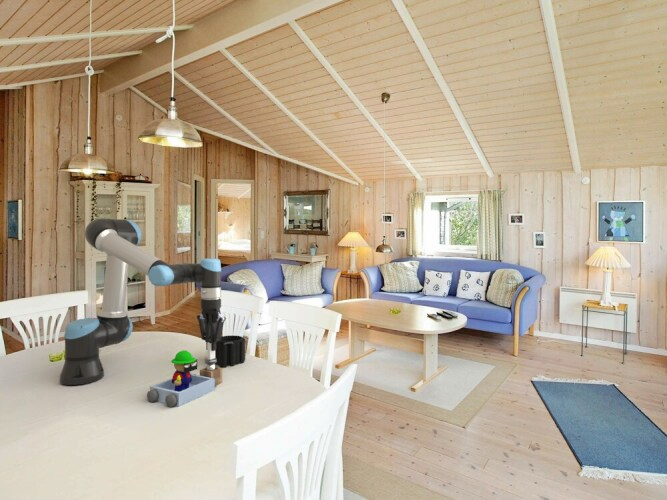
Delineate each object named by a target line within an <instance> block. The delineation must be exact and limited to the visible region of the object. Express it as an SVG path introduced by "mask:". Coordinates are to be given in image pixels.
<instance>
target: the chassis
mask: <svg viewBox="0 0 667 500" xmlns="http://www.w3.org/2000/svg"><path fill="white" fill-rule="evenodd" d="M190 374H191V377H192V382H190V383H189V388H187V389H185V390H182V391H180V392H177V391H174V390H175V384H173V383H172V378H170V379H167V380H165V381H161V382H159V383H156V384H153V385H151V386H149V390H148V391H147V394H146V398H147V400H148V401H149V402H150V403H154V402H160V403H163V404H166V406H167V407H168V408H172V407H178V408H179V407H181V406H184V405H185V404H188V403H190V402H192V401H195V400H197V399H199V398H202V397H204V396H206V395H208V394H210V393H212V392H214V391H215V389H216V387H217V386H218V385H217V382H216V380H215V379H214V378H209V377H204V376H200V374H199V375H197V374H196V373H194V374H193V373H190ZM216 385H217V386H216Z"/></svg>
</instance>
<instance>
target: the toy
mask: <svg viewBox="0 0 667 500" xmlns="http://www.w3.org/2000/svg"><path fill="white" fill-rule="evenodd" d="M170 362H171V363H172V364H173V366H174V369H175V371H174V373H173V375H172V378H171V379H172V383H173V384H175V390H174V391H177V392H180V391H182V390H185V389H187V388H189V383H190V382H192V377H191V374H192V373H191V372H193V371H196V370H198V359H197V358H196V357H194V356H193V355H192V353H191V352H190V351H188V350H180V351H178V352H177V353H176V354H175V357H174V358H172V359H171V361H170Z"/></svg>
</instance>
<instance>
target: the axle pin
mask: <svg viewBox="0 0 667 500" xmlns="http://www.w3.org/2000/svg"><path fill="white" fill-rule="evenodd" d="M204 363H205V364H206V367H207V370H208V371H213V370H215V367H216V364H215V363H217V358H214V359H211V360H208V359H207V358H205V359H204Z"/></svg>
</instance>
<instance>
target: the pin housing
mask: <svg viewBox="0 0 667 500" xmlns="http://www.w3.org/2000/svg"><path fill="white" fill-rule="evenodd" d="M199 376H204V377H209V378H214V379H215V380H216V382H217V385H216V387H217V386H219V385H221V384H223V368H220V367H219V366H215V370H213V371H208V370H207V366H206V367H205V368H204V367H203V368H201V369H199Z"/></svg>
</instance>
